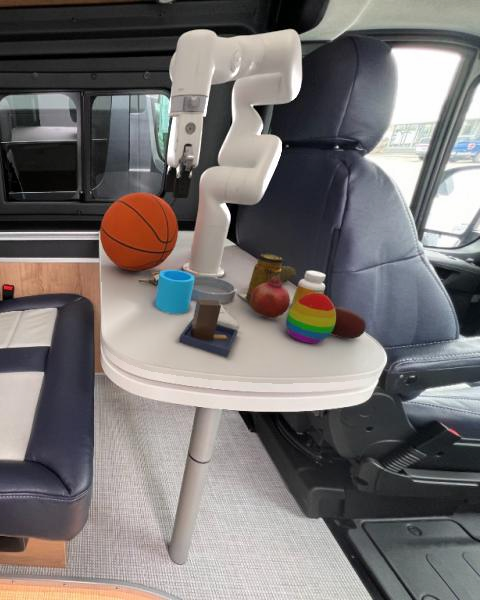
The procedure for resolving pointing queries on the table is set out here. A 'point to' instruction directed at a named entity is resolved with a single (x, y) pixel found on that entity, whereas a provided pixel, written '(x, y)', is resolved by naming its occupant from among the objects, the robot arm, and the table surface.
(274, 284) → the fruit
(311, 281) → the supplement bottle
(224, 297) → the bowl
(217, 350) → the tray
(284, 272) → the hand grenade
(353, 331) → the potato
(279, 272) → the condiment
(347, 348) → the table surface
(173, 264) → the table surface
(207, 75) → the robot arm
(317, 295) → the decorative egg
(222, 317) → the gaming controller
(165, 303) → the mug
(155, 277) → the computer mouse
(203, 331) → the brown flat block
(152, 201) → the basket ball
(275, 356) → the table surface
